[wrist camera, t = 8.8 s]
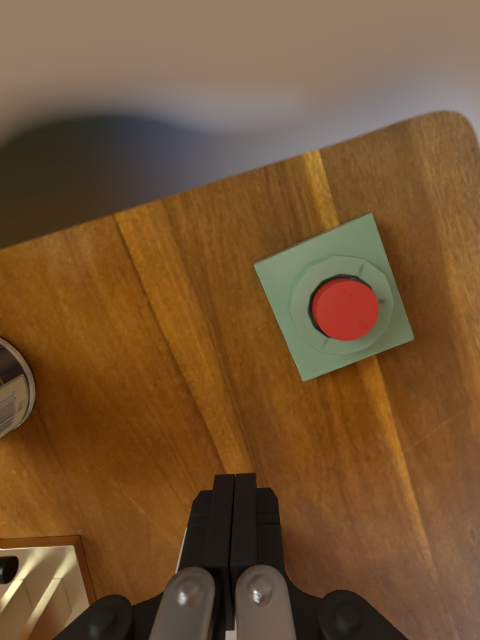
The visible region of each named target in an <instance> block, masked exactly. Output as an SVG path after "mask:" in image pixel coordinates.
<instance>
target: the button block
mask: <svg viewBox="0 0 480 640" xmlns="http://www.w3.org/2000/svg"><path fill="white" fill-rule="evenodd" d="M254 268H255V270H256V272H257V275H258V277H259V280H260V282H261V284H262V287H263V289H264V291H265V294H266V296H267V298H268V301H269V303H270V305H271V308H272V310H273V312H274V315H275V317H276V319H277V322H278V324H279V327H280V329H281V331H282V334H283V336H284V338H285V341H286V343H287V345H288V348H289V350H290V352H291V355H292V357H293V359H294V362H295V364H296V366H297V369H298V371H299V373H300V376H301V378H302V381H303V382H305V381H307V380H310V379H313V378H315V377H318V376H320V375H323V374H326V373H328V372H331V371H333V370H336V369H339V368H341V367H344V366H346V365H349V364H352V363H354V362H357V361H359V360H362V359H365V358H367V357H370V356H372V355H375V354H378V353H380V352H383V351H385V350H388V349H391V348H393V347H396V346H398V345H401V344H404V343H406V342H409V341H411V340H414V335H413V332H412V329H411V327H410V324H409V321H408V318H407V315H406V312H405V309H404V306H403V303H402V300H401V297H400V294H399V291H398V288H397V285H396V282H395V279H394V276H393V273H392V270H391V267H390V264H389V262H388V259H387V256H386V253H385V250H384V247H383V244H382V241H381V238H380V235H379V232H378V229H377V226H376V223H375V220H374V217H373V214H372V213H369V214H365V215H361V216H359V217H357V218H354V219H352V220H350V221H347V222H345V223H343V224H341V225H338V226H336V227H334V228H332V229H329V230H327V231H325V232H323V233H320V234H318V235H316V236H313V237H311V238H309V239H307V240H304V241H302V242H300V243H298V244H295V245H293V246H291V247H289V248H286V249H284V250H282V251H279V252H277V253H275V254H273V255H270V256H268V257H266V258H264V259H261V260H259V261H257V262H255V263H254ZM337 278H348V279H352V280H355V281H357V282H360V283H362V284H364V285H366V286H367V287H369V288H370V289H371V290H372V291H373V293H374V294H375V296H376V298H377V301H378V306H379V312H378V317H377V320H376V322H375V324H374V326H373V327H372V328H371V330H370V331H369V332H368V333H366V334H365V335H364V336H362V337H360V338H358V339H355V340H351V341H340V340H336V339H333V338H331V337H330V336H328V335H327V334H326V333H324V331H323V330H322V329H321V328H320V327H319V325H318V324H317V323H316V321H315V319H314V317H313V313H312V303H313V299H314V296H315V294H316V293H317V291H318V290H319V289H320V287H321V286H323V285H324V284H325V283H327V282H329V281H331V280H333V279H337Z"/></svg>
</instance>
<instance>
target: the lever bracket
mask: <svg viewBox="0 0 480 640" xmlns="http://www.w3.org/2000/svg"><path fill="white" fill-rule="evenodd" d="M0 556H16V557H18V559H19V567H18V571H17V574H16V576H15V577H14V579H13V580H12V581H11V582H10V583H8V584H2V585H0V596H1V600H0V640H52V639H53V638H54V637H55V636H57V635H58V634H59V633H60V632H61V631H62V630H63V629H64V628H66V627H67V626H68V625H69V624H70V623H71V622H72V621H74V620H75V619H76V618H77V617H78V616H79V615H80V614H81V613H83V612H84V611H85V610H86V609H87V608H88V607H89V606H90V605H92V604H93V603H94V602H96V598H95V594H94V590H93V586H92V582H91V578H90V574H89V570H88V566H87V563H86V559H85V555H84V551H83V547H82V543H81V539H80V536H79V535H77V536H59V537H40V538H22V539H3V540H0Z"/></svg>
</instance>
